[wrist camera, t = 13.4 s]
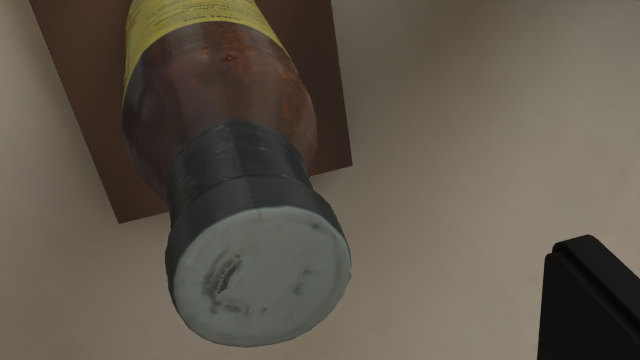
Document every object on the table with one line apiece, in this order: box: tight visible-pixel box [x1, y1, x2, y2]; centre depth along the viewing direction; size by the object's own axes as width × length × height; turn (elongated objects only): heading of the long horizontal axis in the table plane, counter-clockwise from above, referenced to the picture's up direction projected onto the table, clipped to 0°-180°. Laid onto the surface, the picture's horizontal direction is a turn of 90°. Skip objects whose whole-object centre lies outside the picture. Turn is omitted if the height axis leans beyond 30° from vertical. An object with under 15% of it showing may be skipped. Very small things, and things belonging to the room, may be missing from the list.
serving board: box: [29, 0, 353, 224], centre depth 30 cm, size 14×20×2 cm
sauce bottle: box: [122, 0, 351, 348], centre depth 21 cm, size 7×6×20 cm
